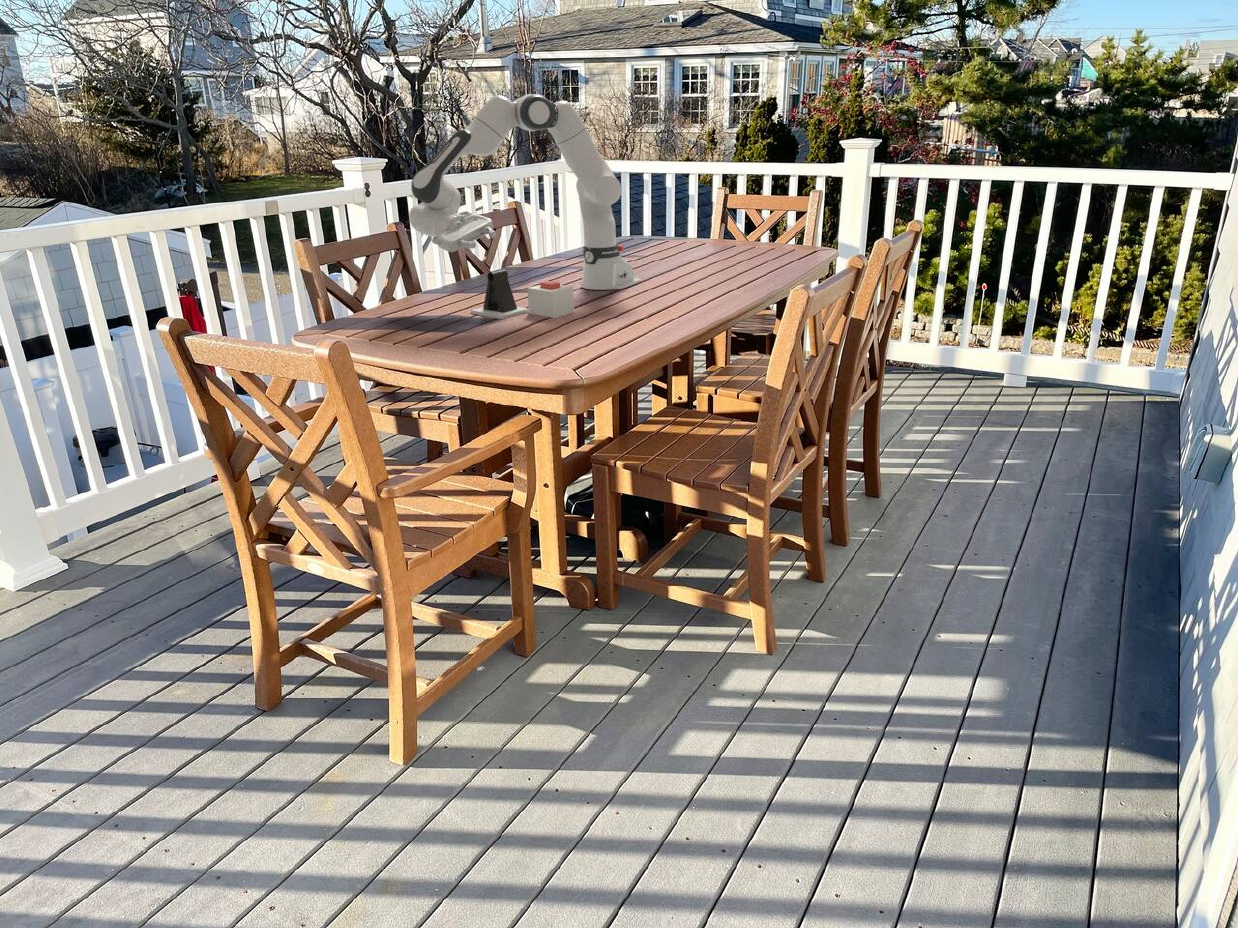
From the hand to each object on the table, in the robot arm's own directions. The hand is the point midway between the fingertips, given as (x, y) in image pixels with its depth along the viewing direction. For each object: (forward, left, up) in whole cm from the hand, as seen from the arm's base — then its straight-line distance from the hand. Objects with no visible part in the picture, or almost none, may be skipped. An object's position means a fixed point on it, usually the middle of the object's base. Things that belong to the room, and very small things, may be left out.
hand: (484, 240), depth 280 cm
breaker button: (-8, +20, -15) cm, 26 cm away
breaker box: (-8, +20, -22) cm, 31 cm away
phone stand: (+1, +6, -21) cm, 22 cm away
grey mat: (+1, +6, -22) cm, 23 cm away
